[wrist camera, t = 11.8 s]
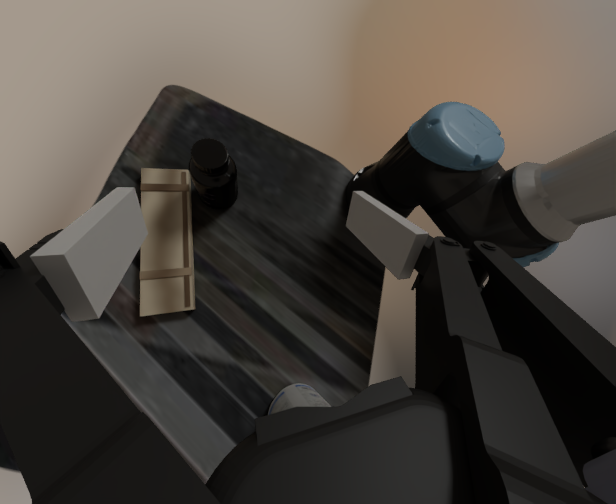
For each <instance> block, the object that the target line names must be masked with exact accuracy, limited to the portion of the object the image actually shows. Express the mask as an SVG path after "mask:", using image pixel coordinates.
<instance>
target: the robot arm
mask: <svg viewBox="0 0 616 504" xmlns="http://www.w3.org/2000/svg"><path fill="white" fill-rule="evenodd" d="M500 134H501V132H500V130H499V129H498V128H497V126H496V125H495V123H494V122H493V121H492V120H491V119H490V118H489V117H488V116H486V115H485V114H484V113H483V112H481V111H479V110H478V109H476V108H474V107H472V106H470V105H467V104H462V103H459V102H446V103H441V104H439V105H436V106H435V107H433V108H432V109H430V110H429V111H428V112H427V113H426V114H425V115H424V116H423V117H422V118H421V119H419V120H418V121H416V122H415V123H414V124H413V125H412V126H411V127H410V129H409V130H408V132H407V133H406V134H405V135H404V136H403V137H402V138H401V139H400V140H399V141H398V142H397V143H396V144H395V145H394V146H393V147H392V148H391V149H390V150H389V151H388V152H387V153H386V154H385V155H384V157H383V158H382V159H381V160H380V161H378V162H376V163H373V164H371V165H369V166H367V167H365V168H363V169H361V170H360V171H358V172H357V173H356V174H355V175H354V177H353V178H352V179H351V180H350V182H349V184H348V186H347V191H346V198H347V203H348V206H349V213H348V217H347V222H346V227H347V228H348V229H349V230H350V231H351V232H352V233H353V234H354V235H355V236H356V237H357V238H358V239H359V240H360V241H361V242H362V243H363V244H364V245H365V246H366V247H367V248H368V249H369V250H370V251H371V252H372V253H373V254H374V255H375V256H376V257H377V258H378V259H379V260H380V261H381V262H382V263H383V264H384V265H385V266H386V268H387V269H388V270H390V272H391V273H392V274H394V276H395V277H396V278H397V279H406V278H410V276H411V274H412V272H413V269H416V271H417V272H419V273H418V275H417V278H416V280H415V282H414V284H413V287H412V289H411V290H414V288H416V384H415V389H414V388H408V386H407V385H406V383H405V382H404V380H403V379H402V377H401V376H400V377H397V378H393V379H390V380H387V381H383V382H380V383H376V384H373V385H370V386H369V387H367V388H366V389H365V390H363V391H362V392H360V393H359V394H358V395H356V396H355V397H353V398H352V399H351V400H349V401H348V402H347V403H345V404H344V405H342V406H339V407H294V408H290V409H287V410H283V411H280V412H276V413H273V414H270V415H266V416H263V417H259V418H256V419H255V430H256V432H254V433H253V434H251V435H250V436H248V437H247V438H245V439H244V440H243V441H242V442H240V443H239V444H238V445H237V446H236V447H234V448H233V450H232V451H231V452H230V453H229V454H228V455H227V456H226V457H225V458H224V459H223V460H222V462H221V463H220V464H219V465H218V467H217V468H216V469H215V471H214V472H213V474H212V475H211V477H210V478H209V480H208V481H207V483H206V484H204V483H203V482H202V481H201V480H200V478H199V477H198V476H197V475H196V474H195V472H194V471H193V470H192V469H191V468H190V466H189V465H188V464H187V463H186V462H185V460H184V459H183V458H182V457H181V456H180V454H179V453H178V452H177V451H176V450H175V448H174V447H173V446H172V445H171V444H170V442H169V441H168V440H167V439H166V438H165V436H164V435H163V434H162V433H161V432H160V430H159V429H158V428H157V427H156V426H155V425H154V423H153V422H152V421H151V420H150V419H149V418H148V416H147V415H146V414H144V413H143V412H142V413H141V412H140V411H139V410H138V409H137V407H136V406H135V405H134V404H133V403H132V401H131V400H130V399H129V398H128V397H127V395H126V394H125V393H124V392H123V390H122V389H121V388H120V387H119V386H118V384H117V383H116V382H115V381H114V380H113V378H112V377H111V376H110V375H109V373H108V372H107V371H106V370H105V369H104V367H103V366H102V365H101V364H100V363H99V361H98V360H97V359H96V358H95V356H94V355H93V354H92V353H91V352H90V350H89V349H88V348H87V347H86V346H85V344H84V343H83V342H82V341H81V340H80V338H79V337H78V336H77V335H76V333H75V332H74V331H73V330H72V329H71V327H70V326H69V325H68V324H67V323H66V321H65V320H64V319H63V318H62V316H61V313H62V312H63V311H64V310H65V312H66V313H67V315H68V317H69V318H70V320H71V321H72V322H75V321H83V320H91V319H98V318H99V317H100V316H101V314H102V312H103V310H104V309H105V307H106V305H107V304H108V302H109V300H110V298H111V297H112V295H113V293H114V291H115V290H116V288H117V286H118V285H119V283H120V281H121V279H122V278H123V276H124V274H125V273H126V271H127V269H128V267H129V266H130V264H131V262H132V261H133V259H134V257H135V255H136V254H137V252H138V250H139V248H140V247H141V245H142V243H143V242H144V240H145V238H146V236H147V235H148V231H147V228H146V225H145V221H144V218H143V215H142V211H141V208H140V204H139V201H138V198H137V194H136V191H135V188H129V187H117V188H116V189H114V190H113V191H112V192H111V193H109V194H108V195H107V196H105V197H104V198H103V199H102V200H100V201H99V202H98V203H97V204H95V205H94V206H93V207H92V208H90V209H89V210H88V211H87V212H85V213H84V214H83V215H81V216H80V217H79V218H78V219H76V220H75V221H74V222H73V223H71V224H70V225H69V226H68V227H66V228H65V229H61V230H58V231H57V232H54V233H51V234H49V235H47V236H45V237H44V238H43V239H42V240H40V241H39V242H38V243H37V244H35V245H33V246H32V247H31V248H29V250H27V251H25V252H24V253H23V254H22V255H20V256H19V257H17V258H16V259H15V258H14V257H13V255H12V254H11V252H10V251H9V249H8V248H7V246H6V245H5V243H2V242H0V423H1V426H2V428H3V431H4V433H5V435H6V438H7V440H8V442H9V445H10V447H11V450H12V452H13V454H14V457H15V459H16V462H17V464H18V466H19V469H20V471H21V473H22V476H23V478H24V481H25V483H26V485H27V488H28V490H29V492H30V496H31V499H32V504H616V347H615V346H614V345H612V344H611V343H610V342H609V341H608V340H607V339H605V338H604V337H603V336H602V335H601V334H599V333H598V332H597V331H596V330H595V329H594V328H592V327H591V326H590V325H589V324H588V323H587V322H586V321H585V320H583V319H582V318H581V317H580V316H579V315H578V314H576V313H575V312H574V311H573V310H572V309H571V308H569V307H568V306H567V305H566V304H565V303H564V302H562V301H561V300H560V299H559V298H558V297H557V296H556V295H554V294H553V293H552V292H551V291H550V290H549V289H547V288H546V287H545V286H544V285H543V284H542V283H540V282H539V281H538V280H537V279H536V278H535V277H533V276H532V275H531V274H530V273H529V272H528V271H527V270H525V269H524V268H523V267H526V266H529V265H530V262H534V261H535V262H538V261H541V260H543V259H544V258H546V257H548V256H549V255H551V253H553V252H554V251H555V250H556V248H557V247H558V245H559V242H563V241H567V240H568V239H570V237H571V236H572V235H573V233H574V232H575V230H576V229H577V228H578V226H580V225H581V224H585V223H588V222H592V221H596V220H600V219H604V218H607V217H611V216H615V215H616V131H614V132H612V133H610V134H608V135H606V136H604V137H602V138H599V139H597V140H595V141H593V142H591V143H589V144H587V145H585V146H583V147H580V148H578V149H576V150H574V151H572V152H570V153H568V154H566V155H564V156H562V157H560V158H558V159H556V160H553V161H551V162H549V163H547V164H537V163H530V162H524V163H522V164H520V165H518V166H516V167H514V168H512V169H510V170H508V171H505V170H504V169H503V168H502V166H501V165H500V164H499V163H498V160H499V159H500V158H501V156H502V154H503V152H504V140H503V138H501V137H500ZM418 205H420V206H421V207H422V208H423V209H424V210H425V212H426V213H427V214H428V215H429V217H430V218H431V219H432V220H433V222H434V223H435V224H436V225H437V227H438V228H439V229H440V230H441V232H442V233H443V234H444V235H445V237H438V236H437V237H435V238H433V237H431V236H429V233H427V232H426V231H424V230H423V229H421V228H420V227H418V226H416V225H415V224H413V223H412V222H410V221H409V220H407V219H406V218H407V217H408V216H409V214H410V213H411V212H412V211H413V210H414V208H415V207H416V206H418ZM488 275H489V280H488V282H487V284H486V285H485V287H484V286H483V283H484V281H485V280H486V278H487V277H488ZM584 487H585V488H584Z"/></svg>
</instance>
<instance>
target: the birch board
mask: <svg viewBox="0 0 616 504" xmlns="http://www.w3.org/2000/svg"><path fill="white" fill-rule="evenodd" d="M141 211H142V215H143V218H144V221H145V225H146V228H147V231H148V235H147V236H146V238H145V240H144V242H143V243H142V245H141V262H140V316H149V315H156V314H164V313H171V312H179V311H186V310H194V309H195V289H194V262H193V234H192V207H191V179H190V173H189V171H188V170H176V169H149V168H141Z"/></svg>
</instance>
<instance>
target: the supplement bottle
mask: <svg viewBox="0 0 616 504" xmlns="http://www.w3.org/2000/svg"><path fill="white" fill-rule="evenodd" d="M191 154H192V155H191V156H192V158H191V159H190V162H189V172H190V175H191V178H192V180H193V183H194V185H195V187H196V190H197V192H198V195H199V197H200V199H201V200H202V202H203V203H204V204H205V205H207V206H208V207H210V208H213V209H225V208H228V207H230V206H231V205H233V204H234V202H235V201H236V199H237V195H238V187H237V169H236V165H235V162H234V161H233V159H232V158H231V157H230V156H229V155H228V151H227V149H226V148H225V146H224V145H223V144H222V143H220V142H219V141H217V140H214V139H210V138H209V139H207V138H205V139H201V140H199V141H197V142H196V143H195V144H194V145H193V146H192V149H191Z"/></svg>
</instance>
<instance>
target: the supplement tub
mask: <svg viewBox="0 0 616 504" xmlns="http://www.w3.org/2000/svg"><path fill="white" fill-rule="evenodd" d="M294 407H331V406H330V405H329V404H328V403H327V402H326V401H325V400H324V399H323V398H322V397H321V396H320V395H319V394H318V393H317V392H316V391H315V390H314V389H313V388H312V387H310V386H308V385H306V384H292V385H289V386H287V387H286V388H284V389H283V390H281V391H280V392H279V393H278V395H277V396H276V397H275V398H274V400H273V402H272V403H271V406H270V408H269V412H268V415H270V414H273V413H276V412H280V411H283V410H287V409H290V408H294Z"/></svg>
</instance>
